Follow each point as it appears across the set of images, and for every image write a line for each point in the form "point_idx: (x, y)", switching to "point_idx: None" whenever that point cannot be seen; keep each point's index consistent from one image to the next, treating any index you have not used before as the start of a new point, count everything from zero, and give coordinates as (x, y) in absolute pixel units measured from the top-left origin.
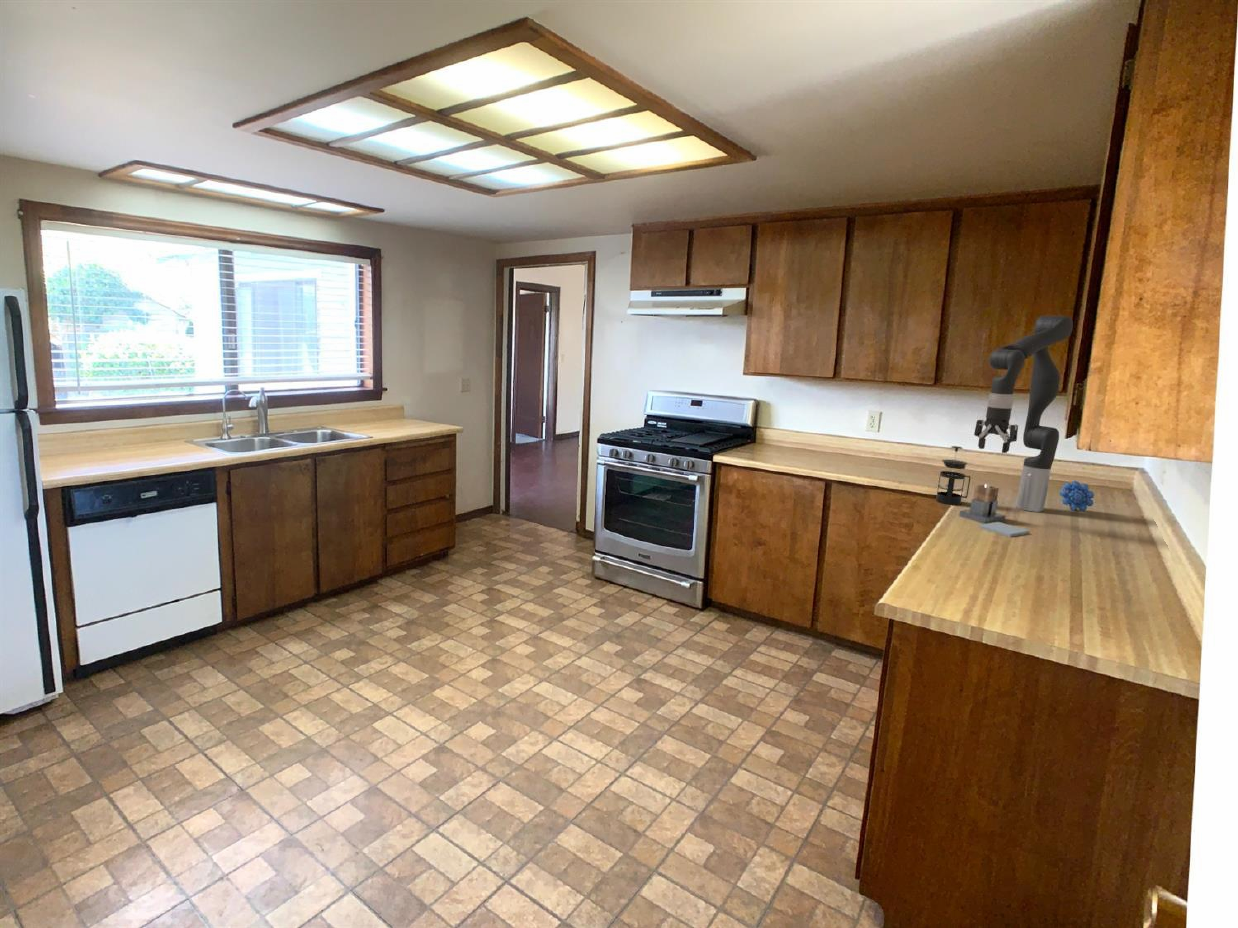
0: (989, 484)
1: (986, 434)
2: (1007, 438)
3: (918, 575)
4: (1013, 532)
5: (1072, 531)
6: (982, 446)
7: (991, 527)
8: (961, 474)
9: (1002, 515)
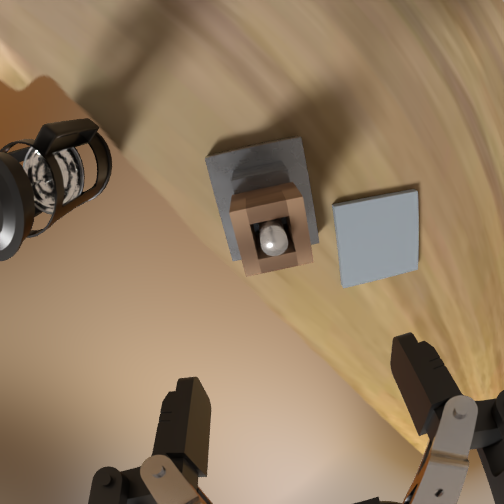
0: (282, 239)
1: (190, 499)
2: (449, 442)
3: (424, 447)
4: (413, 250)
5: (418, 35)
6: (203, 407)
7: (369, 274)
8: (16, 142)
9: (302, 153)
